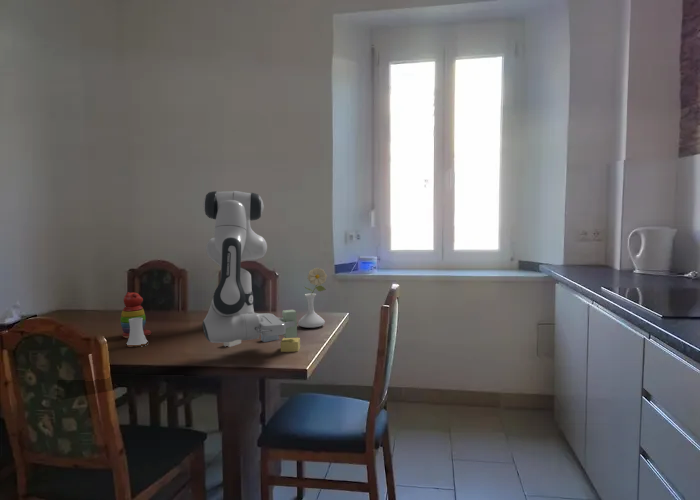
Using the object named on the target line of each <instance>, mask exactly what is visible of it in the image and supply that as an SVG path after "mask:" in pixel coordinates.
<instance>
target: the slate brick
mask: <svg viewBox="0 0 700 500" xmlns="http://www.w3.org/2000/svg"><path fill="white" fill-rule="evenodd" d="M278 340H279V341H280V335H274V336H264V335H260V341H262V342H263V343H268V342H273V341H278Z"/></svg>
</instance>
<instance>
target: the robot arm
mask: <svg viewBox="0 0 700 500" xmlns="http://www.w3.org/2000/svg"><path fill="white" fill-rule="evenodd" d="M202 206H203V211H204V213H205V215H206V217H207V218H209V219H212V220H215V223H214V230H213V231H214V233H213V234H214V237H211V238H210V239H208V242H207V243H206V246H205V251H206V255H207V257H208V258H209V259H210V260H211V261H213V262H214V263H215V264H217V265H218V266H219V268H220V280H219V284H218V285H217V287H216V289H215V291H214V293H213V297H212V298H211V301H210V307H209V309H208V312H207V314H206V316H205V318H204V319H203V320H202V330H203V334H204V337H205V339H206V340H207V341H208V342H210V343H213V344H220V343H221V344H224V342H233V341H235V340H241V341H248V340H249V341H250V340H259V339H260V338H261V335H264V336H274V335H279V336H283V334H285V333H286V328H289V327H294V326H295V322H294V321H289V322H283V317H278V316H276V315H274V313H269V312H267V313H266V312H265V313H257V312H255V310H254V292H253V290H252V288H253V287H252V274H251V273H250V272H249V271H248V270H246V268H243V267H242V266H241V262H242V261H254V260H258V259H261V258H264V257H265V256H266V253H267V250H268V243H267V241H266V239H265V238H264V237H263V236H262V235H259V234H258V233H256V232H255V231H254V230H253V229H252V227H251V226H252V225H251V221H258V220H259V219H260V218H261V217H262V215H263V213H264V209H265V205H264V200H263V199H262V196H260V194H258V193H255V192H251V193H250V192H244V191H239V190H231V191H217V190H216V191H215V190H214V191H209V192H208V193H206V195H205V198H204V200H203V205H202Z"/></svg>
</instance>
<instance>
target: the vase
mask: <svg viewBox="0 0 700 500" xmlns="http://www.w3.org/2000/svg"><path fill="white" fill-rule="evenodd" d="M142 321H143V318H131V319H129V324H130V334H129V338H127V342H126V343H125V344H127V345H141V344H146V343H147V342H148V343H149V340H147V337H146V336H145V335H144V332H143V326H142Z"/></svg>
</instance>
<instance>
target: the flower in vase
mask: <svg viewBox="0 0 700 500" xmlns="http://www.w3.org/2000/svg"><path fill="white" fill-rule="evenodd" d="M327 278H328V274H326V272H325V270H324V269H323V268H320V267H315V268H312V269H311V270H309V272H308V275H307V279H308V282H309V283H310V285H313V286H314V288H313V290H312V289H311V288H308V287H306V286H305V285H304V286H303V287H304V288H305V289H306V290H307V291H310V292H311V293H305V294H304V296H305V298H306V301H307V304H308V305H307V312H306V313H305V314H304V315H303V316H302V317H301V318H299V320H298V321H297V326H300V327H302V328H308V329H309V328H310V329H314V328H318V327H321V326H324V325H325V323H326V321H325V319H323V317H321V315H318V313H316V312H315V308H314V302H315V297H316V296H317V293H314V292H315V290H317V292H323V291H326V288H325V287H324V286H323V284H324V283H326V282H327V281H326V280H327Z"/></svg>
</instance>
